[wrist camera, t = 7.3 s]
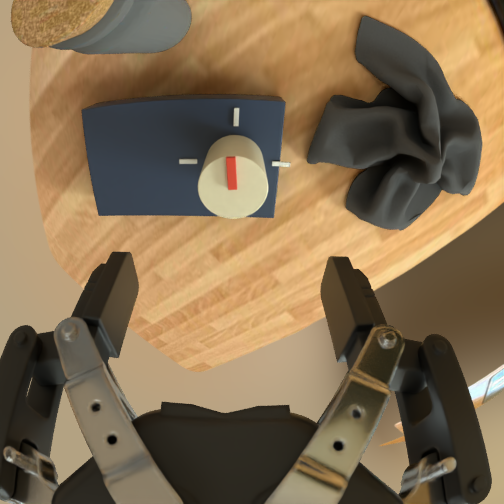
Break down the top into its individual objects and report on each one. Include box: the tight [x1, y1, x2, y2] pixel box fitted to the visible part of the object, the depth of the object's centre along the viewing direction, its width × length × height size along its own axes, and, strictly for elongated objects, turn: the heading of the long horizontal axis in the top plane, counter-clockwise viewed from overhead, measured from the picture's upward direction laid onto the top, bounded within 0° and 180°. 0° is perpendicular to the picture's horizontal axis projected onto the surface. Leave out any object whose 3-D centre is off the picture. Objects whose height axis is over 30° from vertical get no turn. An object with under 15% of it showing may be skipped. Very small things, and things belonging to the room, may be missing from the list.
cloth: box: [307, 16, 482, 230], centre depth 21 cm, size 22×19×6 cm
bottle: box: [11, 0, 191, 54], centre depth 11 cm, size 6×6×15 cm
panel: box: [82, 94, 290, 218], centre depth 23 cm, size 17×10×3 cm, turn 87°
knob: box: [198, 135, 268, 219], centre depth 20 cm, size 4×4×5 cm
